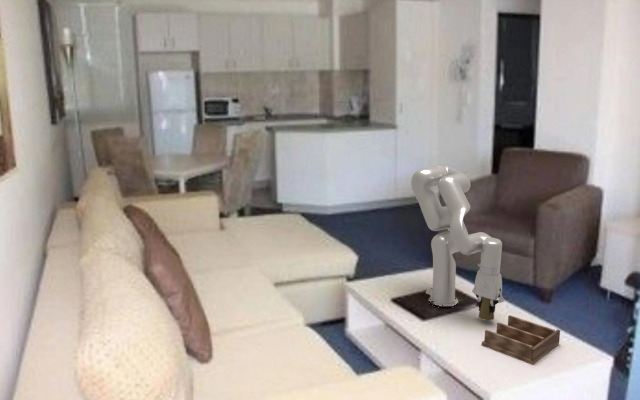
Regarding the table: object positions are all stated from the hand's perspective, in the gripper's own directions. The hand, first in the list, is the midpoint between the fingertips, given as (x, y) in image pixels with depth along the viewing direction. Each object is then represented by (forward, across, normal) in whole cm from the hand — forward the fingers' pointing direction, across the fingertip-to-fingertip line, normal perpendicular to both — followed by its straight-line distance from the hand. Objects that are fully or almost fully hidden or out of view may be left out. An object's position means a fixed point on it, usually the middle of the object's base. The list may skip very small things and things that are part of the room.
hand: (486, 311), depth 228 cm
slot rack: (+4, +19, -8) cm, 21 cm away
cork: (+2, 0, 0) cm, 2 cm away
